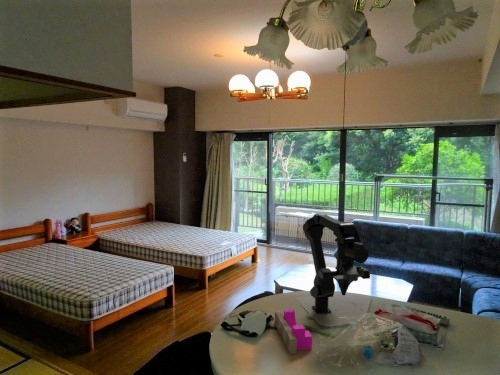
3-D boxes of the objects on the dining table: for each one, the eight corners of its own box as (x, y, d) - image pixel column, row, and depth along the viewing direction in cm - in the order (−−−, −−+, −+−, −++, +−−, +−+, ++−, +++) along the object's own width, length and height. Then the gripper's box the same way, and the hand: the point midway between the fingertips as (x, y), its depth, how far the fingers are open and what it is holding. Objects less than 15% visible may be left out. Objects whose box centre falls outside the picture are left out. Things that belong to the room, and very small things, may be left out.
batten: (274, 322, 134) (274, 310, 134) (279, 322, 135) (279, 310, 134) (290, 354, 113) (290, 339, 112) (296, 353, 113) (296, 339, 113)
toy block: (311, 348, 116) (312, 328, 116) (294, 350, 115) (294, 329, 115) (299, 327, 131) (299, 309, 130) (283, 328, 130) (283, 309, 130)
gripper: (328, 262, 120) (327, 305, 121) (378, 261, 122) (376, 302, 123) (318, 253, 131) (317, 292, 132) (364, 252, 133) (362, 290, 134)
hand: (343, 295), depth 130 cm, fingers closed
